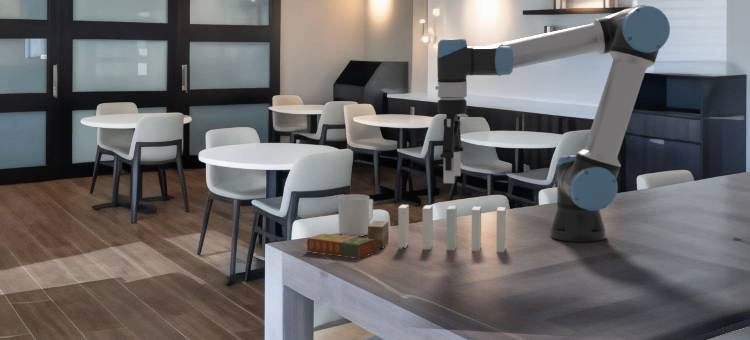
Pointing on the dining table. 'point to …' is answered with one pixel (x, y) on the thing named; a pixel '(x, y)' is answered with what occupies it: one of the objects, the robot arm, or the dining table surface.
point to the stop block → (379, 233)
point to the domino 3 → (451, 227)
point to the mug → (354, 214)
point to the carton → (341, 245)
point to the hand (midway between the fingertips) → (452, 179)
